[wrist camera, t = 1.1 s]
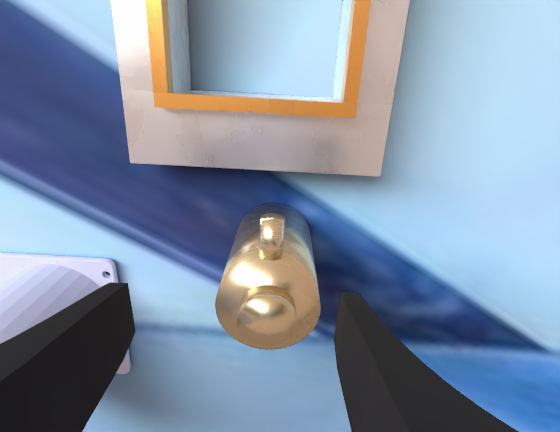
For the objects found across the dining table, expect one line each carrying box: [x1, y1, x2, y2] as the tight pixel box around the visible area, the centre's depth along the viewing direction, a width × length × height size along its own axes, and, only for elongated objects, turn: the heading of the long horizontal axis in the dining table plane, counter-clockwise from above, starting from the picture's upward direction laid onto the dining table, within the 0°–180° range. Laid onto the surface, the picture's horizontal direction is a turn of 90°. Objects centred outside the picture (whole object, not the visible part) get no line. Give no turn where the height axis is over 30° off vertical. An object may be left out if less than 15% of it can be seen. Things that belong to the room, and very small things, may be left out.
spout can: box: [215, 203, 321, 349], centre depth 17 cm, size 6×4×8 cm
